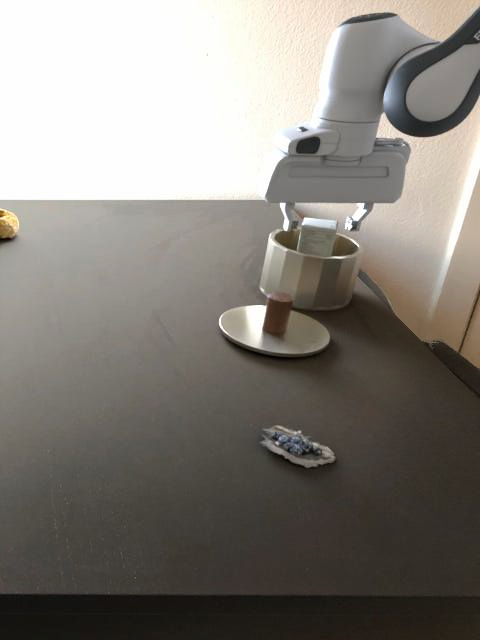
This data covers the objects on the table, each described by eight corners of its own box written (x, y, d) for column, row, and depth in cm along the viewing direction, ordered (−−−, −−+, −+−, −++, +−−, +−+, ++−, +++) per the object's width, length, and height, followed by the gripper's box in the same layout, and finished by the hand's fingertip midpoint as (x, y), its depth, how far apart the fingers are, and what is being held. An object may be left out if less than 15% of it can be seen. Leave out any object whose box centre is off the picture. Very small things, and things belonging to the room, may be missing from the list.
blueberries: (261, 424, 85) (264, 411, 84) (336, 440, 82) (340, 426, 81) (256, 457, 79) (259, 443, 78) (336, 475, 77) (340, 460, 76)
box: (323, 287, 118) (340, 221, 113) (322, 298, 115) (339, 229, 109) (289, 282, 120) (304, 216, 114) (286, 291, 117) (301, 224, 111)
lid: (305, 313, 111) (314, 276, 108) (345, 361, 98) (357, 321, 95) (206, 312, 111) (213, 274, 108) (234, 360, 98) (242, 319, 95)
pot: (329, 276, 124) (342, 227, 119) (365, 311, 112) (380, 258, 108) (248, 275, 123) (258, 226, 119) (275, 310, 112) (286, 257, 107)
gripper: (403, 132, 109) (379, 223, 115) (264, 132, 108) (248, 223, 115) (425, 142, 103) (398, 237, 110) (278, 142, 103) (261, 237, 110)
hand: (320, 230), depth 112 cm, fingers open, 8 cm apart
